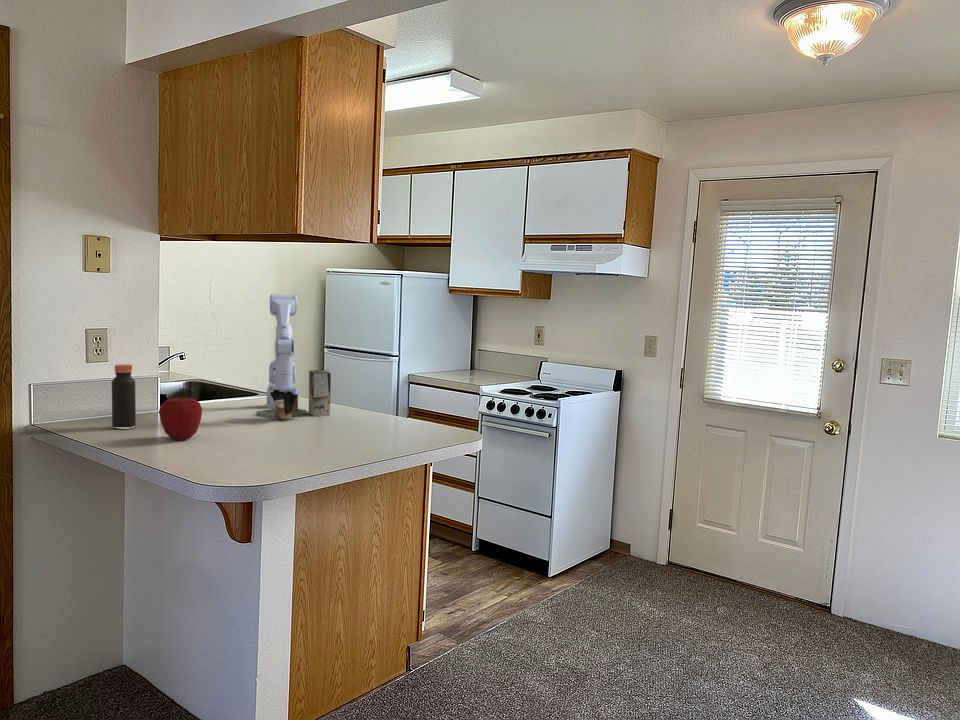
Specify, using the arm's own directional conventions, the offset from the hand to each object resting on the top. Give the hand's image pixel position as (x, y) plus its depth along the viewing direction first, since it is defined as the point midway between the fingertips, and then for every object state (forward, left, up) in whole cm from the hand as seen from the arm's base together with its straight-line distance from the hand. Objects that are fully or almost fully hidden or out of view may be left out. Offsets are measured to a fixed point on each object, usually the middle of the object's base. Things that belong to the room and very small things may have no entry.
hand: (283, 412), depth 254 cm
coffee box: (0, +16, -3) cm, 17 cm away
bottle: (-24, -44, -3) cm, 50 cm away
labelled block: (0, 0, -2) cm, 2 cm away
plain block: (-9, +10, -2) cm, 14 cm away
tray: (-9, +6, -3) cm, 11 cm away
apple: (+3, -41, -3) cm, 41 cm away
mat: (0, 0, -3) cm, 3 cm away
